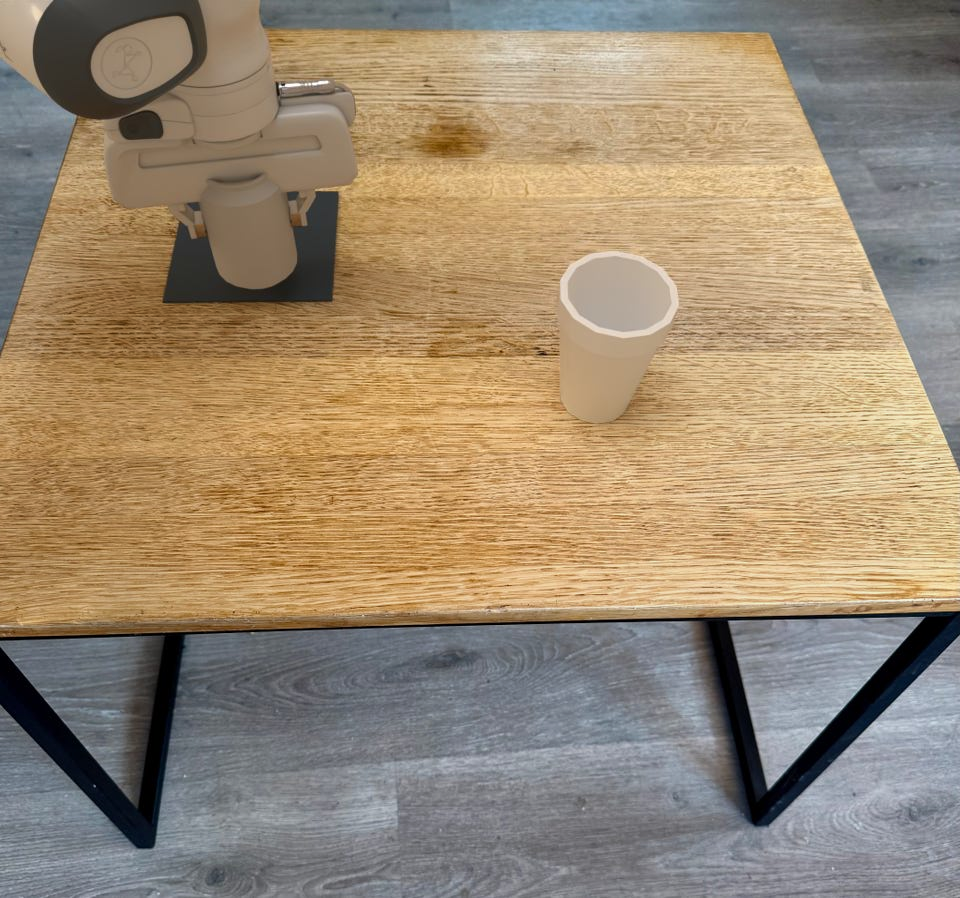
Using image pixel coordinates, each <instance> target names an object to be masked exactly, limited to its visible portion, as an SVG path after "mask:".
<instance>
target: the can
mask: <svg viewBox="0 0 960 898" xmlns="http://www.w3.org/2000/svg"><path fill="white" fill-rule="evenodd" d="M267 175H268V174H267V173H263V174H261V175H260V176H259V177H258V178H256V179H252V180H245V181H240V182H224V183H218V182H216V181H214V180H212V179H207V180H206V182H207V183H209V187H208V188H207V189H206V190H205V191H204V192H203V194H202V195H201V200H202V201H201V202H199V206H200V209H201V213H202V217H203V220H204V222H205V226H206V230H207V233H208V238H209V242H210V246H211V249H212V253H213V257H214V260H215V264H216V267H217V270H218V272H219V275H220V276H221V277H222V278H223V279H224V280H225V281H226V282H229V283H231V284H233V285H235V286H237V287H242V288H248V289H264V288H268V287H271V286H274V285H275V284H277V283H279V282H281V281H282V280H284V279H286V278H287V277H288V276H289V275H290V274H291V273H292V272H293V270H294V268H295V266H296V264H297V250H296V244H295V239H294V233H293V227H291V220H290V216H289V203H288V197H287V192H283V193H281V192H280V188H279V187H278V186H277V185H275V184H274V183H272V182H270V181H268V180H266V176H267Z"/></svg>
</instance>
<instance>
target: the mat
mask: <svg viewBox="0 0 960 898" xmlns="http://www.w3.org/2000/svg"><path fill="white" fill-rule="evenodd" d="M339 193H340V192H339V191H338V190H315V194H316V197H315V199H314V201H313V202H312V204H311V206H310V208H309V209H308V211H307V212H306V219H307V226H300V227H293V233H294V239H295V244H296V250H297V264H296V266H295V268H294V270H293V272H292V273H291V274H290V275H289V276H288V277H287V278H286V279H284V280H282V281H281V282H279V283H277V284H275V285H274V286H271V287H268V288H264V289H248V288H242V287H237V286H235V285H233V284H231V283H229V282H226V281H225V280H224V279H223V278H222V277H221V276H220V275H219V272H218V270H217V267H216V264H215V260H214V257H213V253H212V249H211V246H210V242H209V238H208V237H205V238H196V239H191V236H190V233H189V229H188V226H186V225H184V224H183V223H182V222H181V221H179V220H178V225H177V229H176V235H175V239H174V244H173V248H172V254H171V258H170V263H169V268H168V273H167V278H166V282H165V287H164V292H163V297H162V303H163V304H176V303H177V304H179V303H182V304H183V303H187V304H189V303H191V304H193V303H196V304H197V303H293V302H294V303H296V302H298V303H300V302H301V303H302V302H305V303H307V302H308V303H309V302H312V303H313V302H315V303H316V302H333V295H334V294H333V293H334V280H335V279H334V278H335V277H334V276H335V264H336V263H335V260H336V244H337V243H336V242H337V227H338V212H339V211H338V210H339V209H338V208H339ZM298 195H299V191H292V192H287V197H288V201H293V200H296V199H297V197H298ZM186 204H187V205H188V206H189V207H190V208H191V209H192V210H194V211H201V209H200V206H199V202H191V203H186Z"/></svg>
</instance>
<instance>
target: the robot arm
mask: <svg viewBox="0 0 960 898" xmlns="http://www.w3.org/2000/svg"><path fill="white" fill-rule="evenodd" d="M260 5H261V0H0V59H1V60H3V61H4V62H5V63H6V64H7V65H8V66H10V67H11V68H12V69H13V70H15V71H16V72H17V73H18V74H19V75H21V76H22V77H23V78H24V79H26V80H27V81H28V82H29V83H30V84H32V85H33V86H34V87H35V88H36V89H38V90H39V91H40V92H41V93H43V94H44V95H45V96H46V97H47V98H49V99H50V100H51V101H53V102H54V103H55V104H57V106H59V107H61V108H62V109H64V111H66V112H68V113H70V114H72V115H75V116H77V117H81V118H83V119H89V120H96V121H101V123H102V127H103V163H104V164H103V165H104V170H105V175H106V176H105V177H106V180H107V183H108V187H109V191H110V194H111V197H112V199H113V201H115V203H116V204H118V205H120V206H121V207H123V208H125V209H127V210H135V209H136V210H137V209H143V208H144V209H146V208H154V207H164V206H167V210H168V213H169V214H170V215H172V216H173V217H174V218H175V219H177V220H178V222H179V221H181V222H182V223H183V224H184V225H186V226H188V229H189V233H190V236H191V239H196V238H205V237H208V233H207V230H206V226H205V222H204V220H203V217H202V213H201V211H194V210H192V209H191V208H190V207H189V206H188V205H187V204H186V203H191V202H201V201H202V200H201V195H202V194H203V192H204V191H205V190H206V189H207V188H208V187H209V183H207V182H206V180H207V179H212V180H214V181H216V182H218V183H224V182H240V181H245V180H252V179H256V178H258V177H259V176H260V175H261V174H263V173H267V174H268V175H267V176H266V180H268V181H270V182H272V183H274V184H275V185H277V186H278V187H279V188H280V192H281V193H283V192H292V191H299V195H298V197H297V199H296V200H293V201H288V203H289V216H290V220H291V227H300V226H307V219H306V212H307V211H308V209H309V208H310V206H311V204H312V202H313V201H314V199H315V197H316V194H315V191H316V190H319V189H328V188H337V187H338V188H339V187H346V186H350V185H351V184H352V183H353V182H354V181H355V179H356V178H357V177H358V175H359V168H358V161H357V156H356V151H355V146H354V141H353V138H352V133H351V128H350V127H351V126H352V125H353V123H354V122H355V120H356V117H357V110H356V109H357V108H356V98H355V94H354V92H353V91H352V89H351V88H349V86H347V85H346V84H344V83H341V82H337V81H336V82H335V79H334V78H332V77H320V78H316V79H312V80H298V79H297V80H295V79H294V80H285V81H277V80H276V75H275V69H274V68H275V67H274V63H273V57H272V49H271V45H270V41H269V37H268V34H267V33H266V30H265V28H264V26H263V24H262V22H261V21H262V20H261V17H260Z"/></svg>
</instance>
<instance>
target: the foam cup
mask: <svg viewBox="0 0 960 898" xmlns="http://www.w3.org/2000/svg"><path fill="white" fill-rule="evenodd" d="M557 290H558V291H557V295H556V321H557V323H558V330H559V331H558V345H559V346H558V349H559V351H558V353H559V355H558V356H559V363H558V364H559V401H560V402H561V404H562V406H563V407H564V408H565V410H566V412H567V413H569V414H570V415H572V416H573V417H575V418H576V419H578V420H579V421H581V422H587V423H589V424H590V423H591V424H595V425H597V424H605V423H610V422H614V421H615V420H616V419H618V418H620V417H622V416H623V415H624V414H625V412H626V410H627V408H628V406H629V405H630V402H631V400H632V399H633V396H634V395H635V393H636V391H637V389H638V388H639V385H640V383H641V382H642V380H643V378H644V376H645V374H646V373H647V370H648V368H649V366H650V364H651V362H652V361H653V359H654V357H655V355H656V354H657V352H658V349H659V348H660V347H661V346H662V345H664V344H665V341H666V339H667V338H668V336H669V334H670V333H671V330H672V328H673V326H674V323H675V320H676V318H677V315H678V311H679V308H680V300H679V294H678V287H677V284H676V283H675V282H674V281H673V279H672V278H671V277H670V276H669V274H668V273H667V272H666V270H665V269H664V268H663V267H661V266H660V265H657V264H656V263H654V262H652V261H650V260H649V259H647V258H645V257H643V256H642V255H639V254H638V255H637V254H633V253H628V252H623V251H618V250H610V251H601V252H591V253H588V254H587V255H585V256H583V257H581V258H579V259H577V260H576V261H573V262H572V263H570V264H569V266H568V267H567V269H566V270H565V271H564V273H563V275H562V276H561V278H560V279H559V283H558V289H557Z"/></svg>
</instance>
